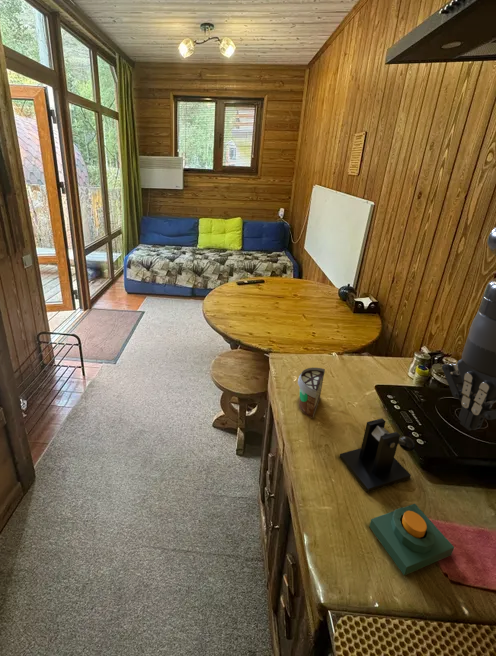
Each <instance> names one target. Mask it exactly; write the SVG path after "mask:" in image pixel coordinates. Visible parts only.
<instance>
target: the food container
mask: <svg viewBox="0 0 496 656" xmlns="http://www.w3.org/2000/svg"><path fill="white" fill-rule="evenodd" d="M325 373H326V370H325V368H322V367H308V368H304V369H303V370H302V372H301V373H300V374H299V376H298V379H297V385H298V387H299V397H298V406H299V409H300V410H301V412H302V413H303V414H304V415H306V416H307V417H308V418H311V419H314V416H315V413H316V411H317V408H318V405H319V402H320V400H321V395H322V394H321V393H322V388H323V383H324V377H325Z"/></svg>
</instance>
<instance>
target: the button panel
mask: <svg viewBox="0 0 496 656" xmlns="http://www.w3.org/2000/svg"><path fill="white" fill-rule="evenodd" d="M406 511H413V512H415V513H417V514H418V515H420V516H421V517H422V518H423V519H424V521H425V523H426V525H427V529H426V532H425V535H424V537H422V538H415V537H413V536H412V535H410V534H409V533H408V532H407V531H406V530H405V529H404V527H403V525H402V519H403V515H404V513H405V512H406ZM368 527H369V528H370V530H371V532H372V533H373V534H374V536H375V537H376V539H377V540H378V541H379V543H380V545H381V546H382V547H383V548H384V550H385V551H386V552H387V554H388V556H389V557H390V558H391V560H392V561H393V562H394V563H395V565H396V567H397V568H398V570H399V571H400V573H402V575H403V576H406V575H409V574H411V573H413V572H416V571H418V570H421V569H423V568H425V567H427V566H430V565H432V564H434V563H437V562H440V561H441V560H443V559H446V558H448V557H451V556H452V554H453V552H454V549H455V546H454V545H453V544H452V543H451V542H450V540H448V538H447V537H446V536H445V535H444V534H443V532H442V531H441V530H440V529H439V528H438V527H437V526H436V525H435V523H434V522H432V521H431V519H429V517H428V516H427V515H426V514H425V512H423V510H421V508H420V507H419V506H418V505H417V504H416V503H412V504H409V505H407V506H404V507H403V506H401V507H399V508H396V509H394V510H392V511H390V512H387V513H385V514H382V515H378V516H376V517H373V518H370V522H369V526H368Z"/></svg>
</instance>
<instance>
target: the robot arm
mask: <svg viewBox="0 0 496 656" xmlns="http://www.w3.org/2000/svg"><path fill="white" fill-rule="evenodd" d="M486 243H487V248H488V250H489V252H490V253H492V255H494V256H495V257H496V226H494V227H493V228H492V230H491V231H490V232H489V234H488V237H487V240H486ZM441 369H442V372H443V374H444V378H445V380H446V382H447V384H448V387H449V389H450V392H451V395H452V397H453V398H454V399H456V400H457V399H458V400H459V401H460V403H461V409H460V412H459V415H458V420H459V421H460V422H459V425H460V426H462V427H463V428H464V429H466V430H467V431H476V430H478V429H480V428H482V426H483V423H484V420H485V419H486V420H488V421H493V420H496V409H493V408H492V406H493V405H494V404H495V403H496V277H495V278H492V279H491V280H489V281H488V283H487V284H486V286H485V289H484V291H483V295H482V297H481V300H480V304H479V307H478V309H477V313H476V315H475V316H474V318H473V320H472V322H471V325H470V327H469V330H468V334H467V337H466V341H465V344H464V346H463V350H462V353H461V359H459V360H457V362H448V363H446V364H442V365H441Z"/></svg>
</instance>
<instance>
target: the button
mask: <svg viewBox="0 0 496 656" xmlns="http://www.w3.org/2000/svg"><path fill="white" fill-rule="evenodd" d="M402 525H403V527H404V529H405V530H406V531H407V532H408V533H409V534H410V535H412V536H413V537H415V538H422V537H424V535H425V532H426V529H427V525H426V523H425V521H424V519H423V518H422V517H421V516H420V515H418V514H417V513H415V512H413V511H406V512H405V513H404V515H403V519H402Z"/></svg>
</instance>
